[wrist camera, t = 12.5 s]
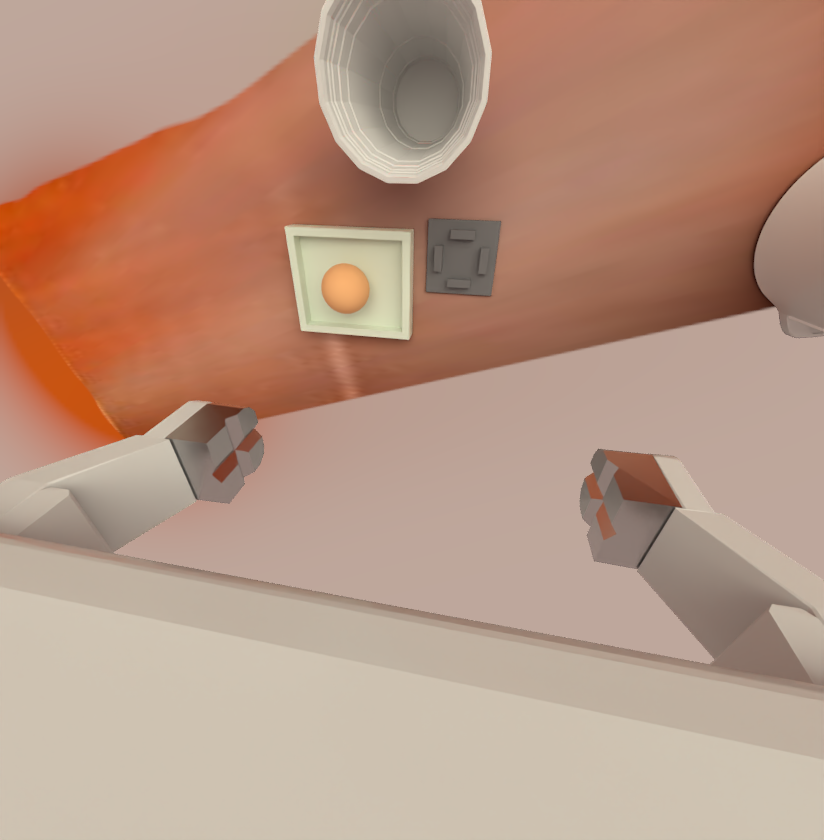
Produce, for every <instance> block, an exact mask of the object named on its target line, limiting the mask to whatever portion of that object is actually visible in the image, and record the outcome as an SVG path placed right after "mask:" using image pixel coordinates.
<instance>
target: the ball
mask: <svg viewBox="0 0 824 840" xmlns="http://www.w3.org/2000/svg"><path fill="white" fill-rule="evenodd" d="M321 290H322V295H323V298H324V300H325V301H326V303H327V304H328V305H329V306H330V307H331V308H332V309H333V310H335V311H337V312H339V313H343V314H351V313H354V312H357V311H359V310H360V309H361V308H362V307H363V306H364V305H365V304H366V302H367V300H368V298H369V292H370V287H369V282H368V280H367V277H366V276H365V274H364V273H363V272H362V271H361V270H360V269H359V268H358V267H356V266H354V265H351V264H347V263H341V264H337V265H334V266H332V267H331V268H330V269H329V270H328V271H327V272H326V273H325V275H324V277H323V279H322V284H321Z"/></svg>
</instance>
